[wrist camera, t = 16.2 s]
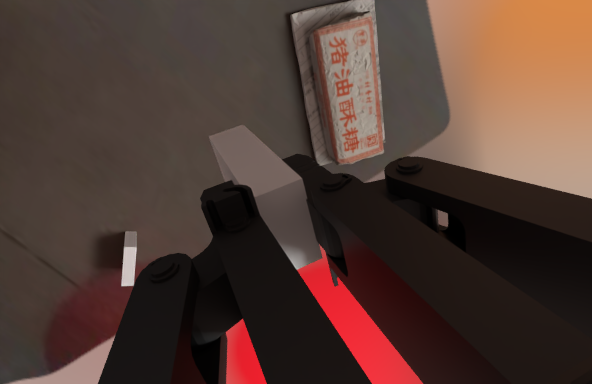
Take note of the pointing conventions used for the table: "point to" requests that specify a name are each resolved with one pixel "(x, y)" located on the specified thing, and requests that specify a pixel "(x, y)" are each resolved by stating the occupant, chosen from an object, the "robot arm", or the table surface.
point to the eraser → (129, 258)
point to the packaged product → (341, 80)
